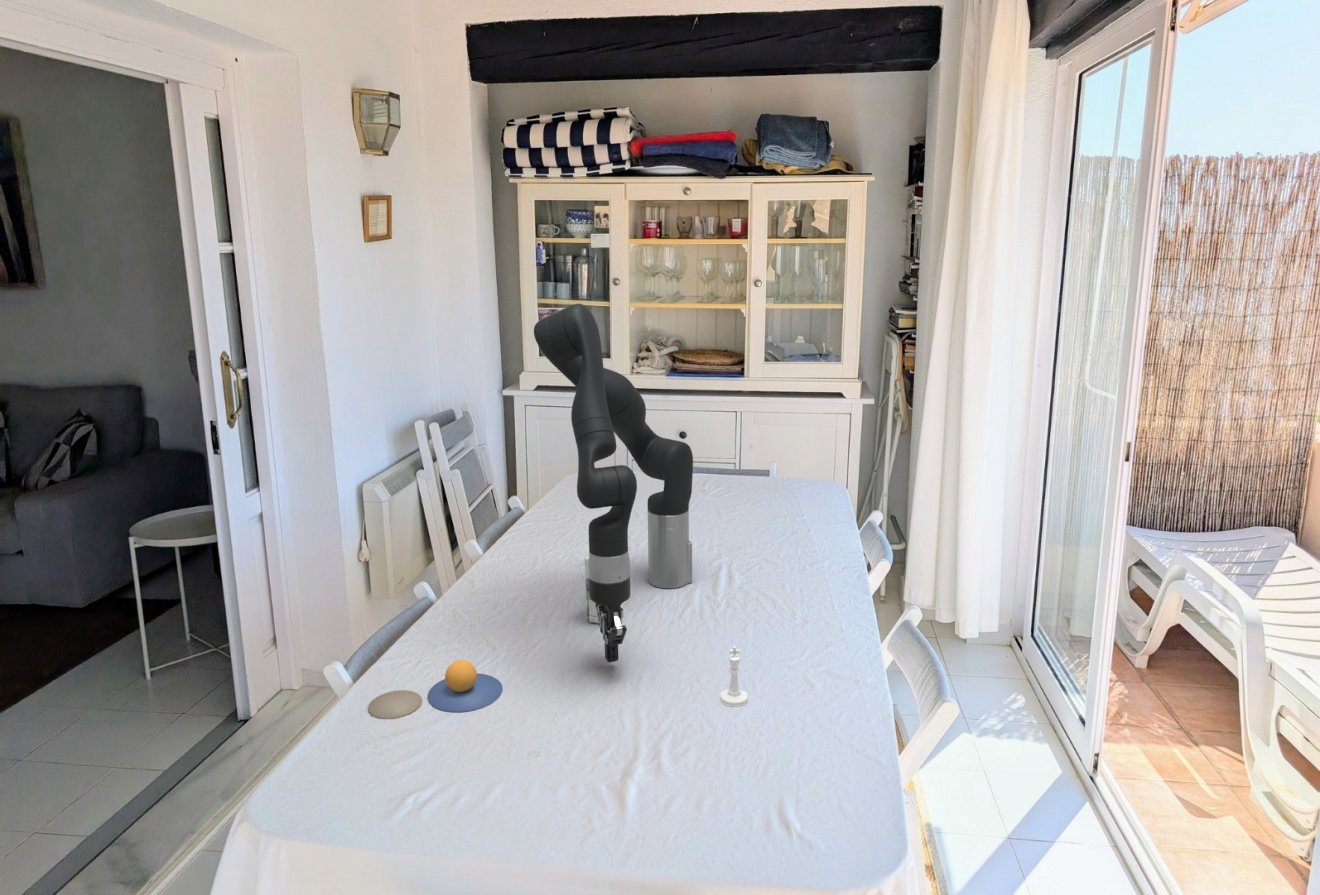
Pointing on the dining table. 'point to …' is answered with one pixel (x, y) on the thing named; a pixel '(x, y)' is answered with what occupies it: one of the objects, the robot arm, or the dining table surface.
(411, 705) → the disc
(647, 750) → the dining table surface
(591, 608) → the syrup box
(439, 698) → the disc
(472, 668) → the ball
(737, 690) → the chess piece
